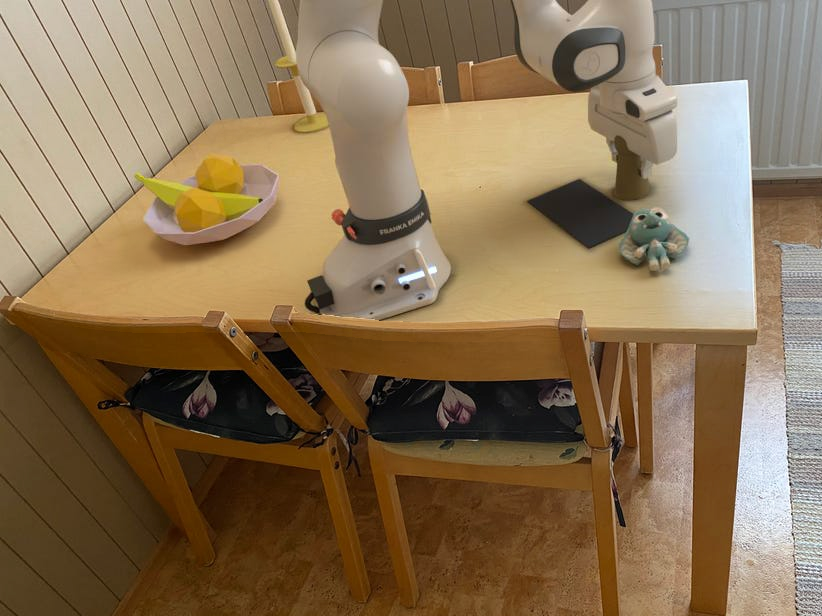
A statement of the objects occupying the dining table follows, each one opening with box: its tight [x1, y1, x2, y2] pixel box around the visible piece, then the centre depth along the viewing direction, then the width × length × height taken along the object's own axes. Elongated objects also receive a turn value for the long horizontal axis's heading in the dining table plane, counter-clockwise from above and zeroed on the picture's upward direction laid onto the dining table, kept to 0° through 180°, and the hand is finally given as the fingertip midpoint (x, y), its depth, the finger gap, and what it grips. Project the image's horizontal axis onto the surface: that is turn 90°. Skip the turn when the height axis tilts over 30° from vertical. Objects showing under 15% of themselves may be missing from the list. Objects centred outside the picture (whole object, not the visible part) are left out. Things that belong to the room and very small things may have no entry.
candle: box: [267, 0, 329, 134], centre depth 169 cm, size 10×10×32 cm
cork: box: [614, 136, 651, 201], centre depth 127 cm, size 6×6×11 cm
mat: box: [527, 178, 634, 250], centre depth 128 cm, size 11×20×1 cm, turn 27°
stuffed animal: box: [617, 206, 690, 272], centre depth 113 cm, size 11×7×12 cm
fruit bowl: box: [133, 153, 280, 246], centre depth 146 cm, size 28×27×11 cm
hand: (631, 168), depth 127 cm, fingers open, 6 cm apart
